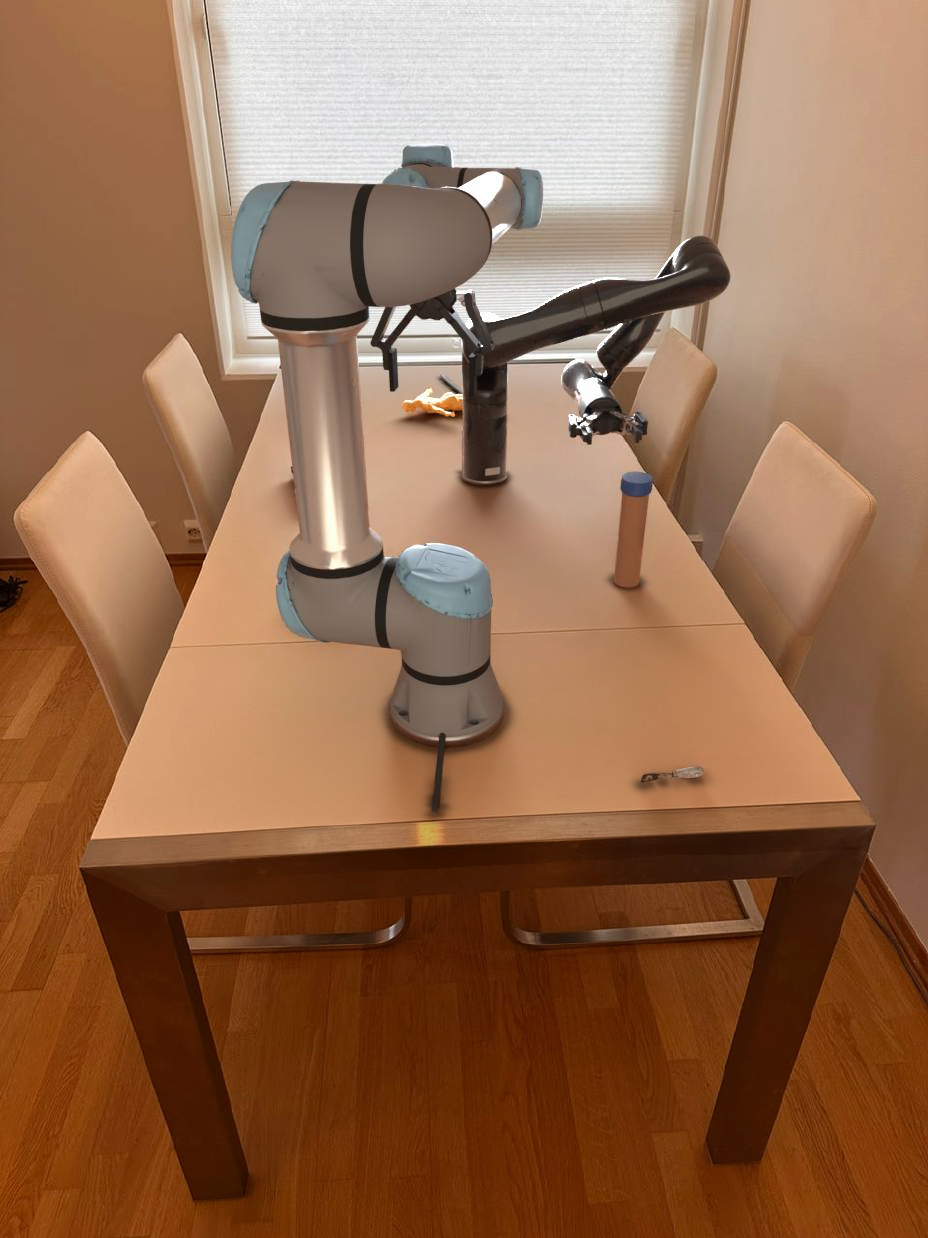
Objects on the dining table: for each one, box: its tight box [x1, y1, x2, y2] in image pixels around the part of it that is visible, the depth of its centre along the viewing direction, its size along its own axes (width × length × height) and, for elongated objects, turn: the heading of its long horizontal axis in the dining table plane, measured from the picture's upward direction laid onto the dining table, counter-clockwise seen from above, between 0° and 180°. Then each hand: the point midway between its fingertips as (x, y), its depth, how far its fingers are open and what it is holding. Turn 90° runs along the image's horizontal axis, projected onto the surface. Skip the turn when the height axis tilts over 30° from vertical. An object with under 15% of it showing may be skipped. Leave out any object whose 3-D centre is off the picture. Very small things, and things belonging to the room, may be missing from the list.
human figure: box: [402, 385, 462, 418], centre depth 225 cm, size 20×20×4 cm
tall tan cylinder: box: [613, 491, 650, 589], centre depth 146 cm, size 4×4×18 cm
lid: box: [619, 471, 654, 497], centre depth 142 cm, size 5×5×2 cm
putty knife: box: [640, 765, 705, 784], centre depth 109 cm, size 1×8×2 cm, turn 103°
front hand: (433, 391), depth 149 cm, fingers open, 13 cm apart
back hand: (613, 438), depth 159 cm, fingers open, 8 cm apart
